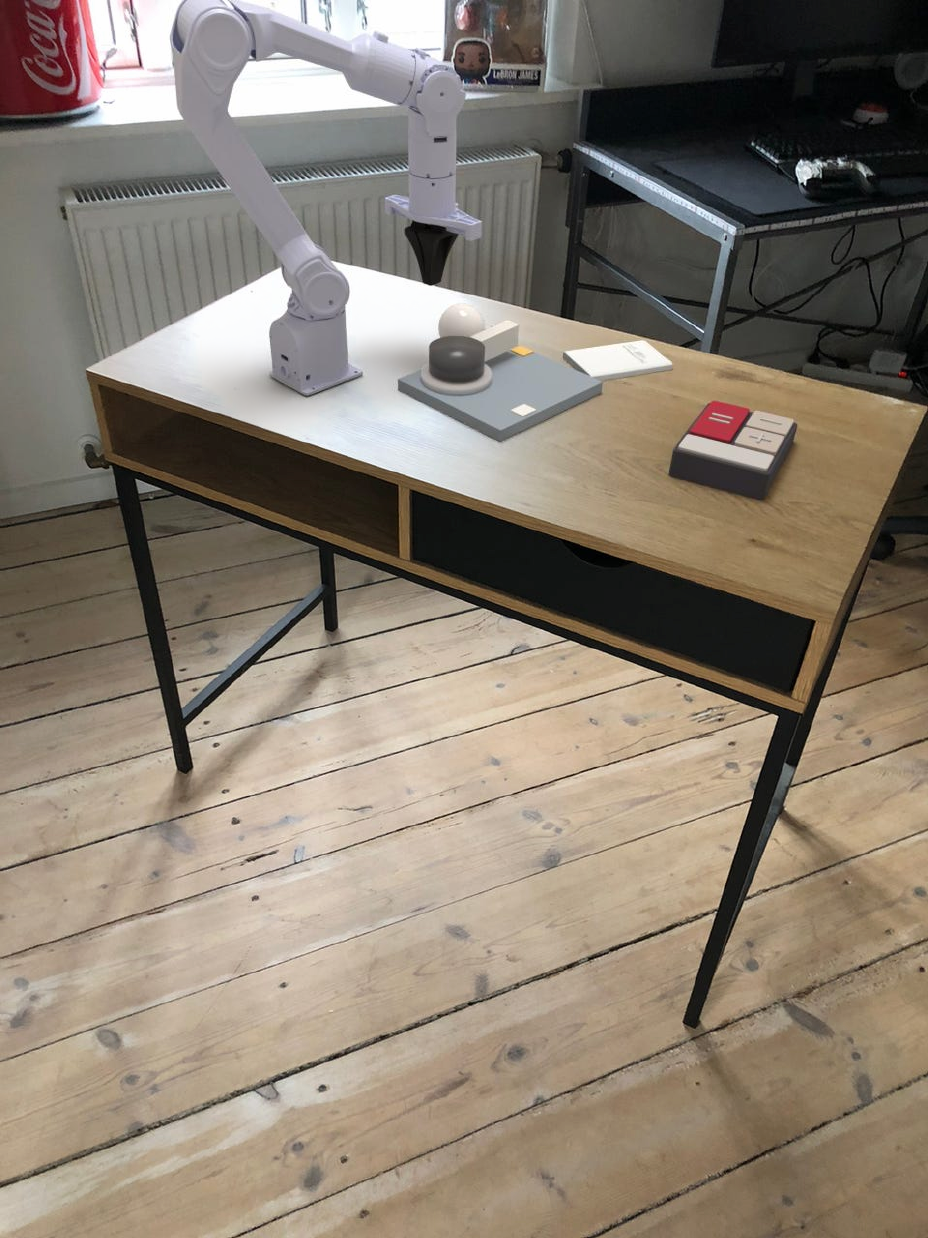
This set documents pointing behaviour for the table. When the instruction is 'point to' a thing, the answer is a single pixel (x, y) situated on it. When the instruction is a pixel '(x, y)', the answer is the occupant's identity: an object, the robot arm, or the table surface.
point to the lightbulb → (461, 321)
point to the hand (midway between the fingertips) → (432, 282)
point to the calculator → (733, 449)
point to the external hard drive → (618, 360)
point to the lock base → (505, 392)
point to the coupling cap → (470, 352)
